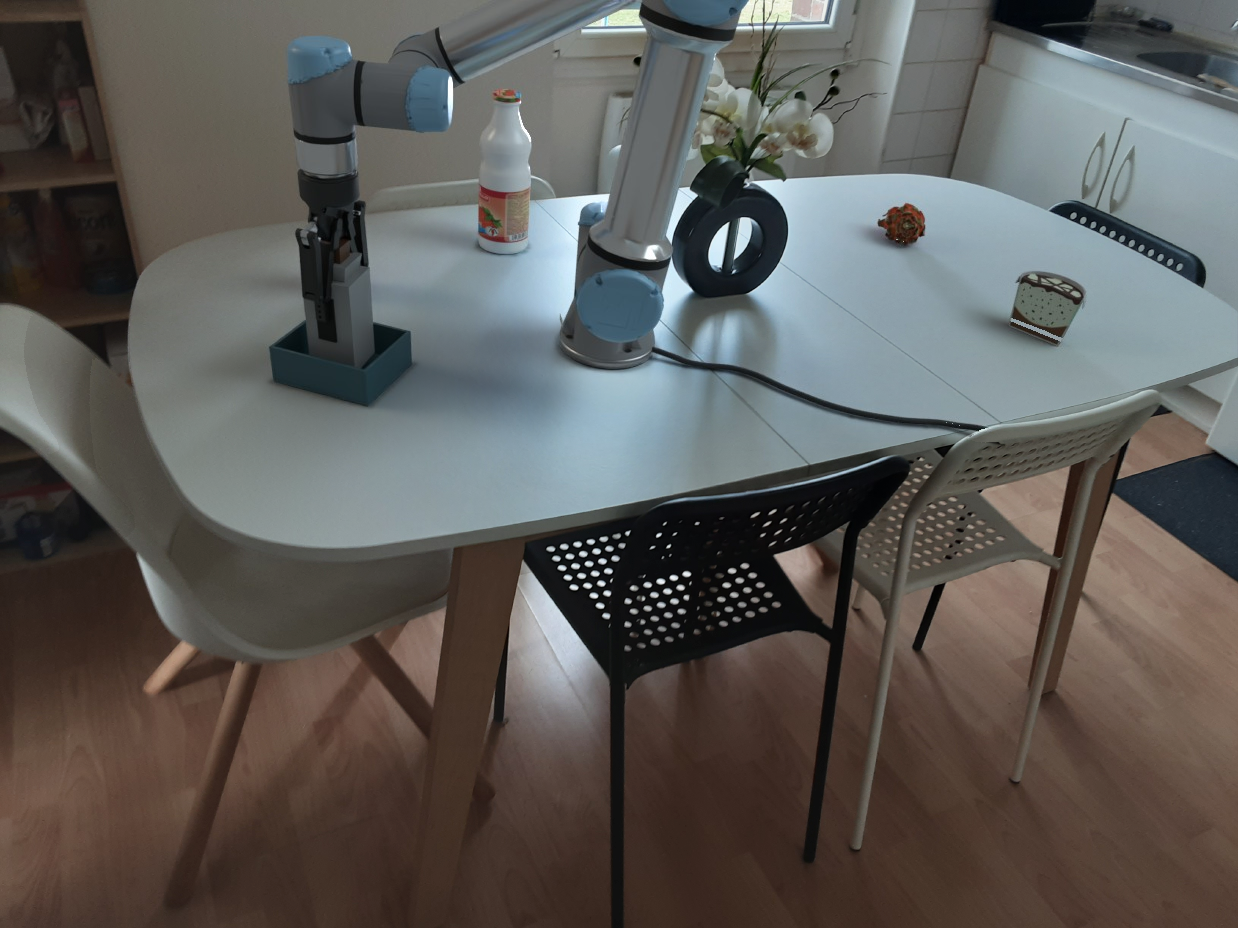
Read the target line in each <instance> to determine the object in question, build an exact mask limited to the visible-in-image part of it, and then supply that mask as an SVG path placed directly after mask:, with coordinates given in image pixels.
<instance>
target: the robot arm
mask: <svg viewBox="0 0 1238 928" xmlns="http://www.w3.org/2000/svg"><path fill="white" fill-rule="evenodd" d="M749 1H750V0H490V1H488V2H485V3H484V4H482V5H480V6H478V7H475V8H474V9H471V10H469V11H467V12H465V13H463V14H461V15H459V16H457V17H455V18H452V19H451V20H449V21H447V22H444V23H443V24H440V25H439V26H437V27H435V28H432V29H430V30H428V31H426V32H423V33H415V34H411V35H409V36H407V37H406V38H404V39H402V40H401V41H400V42H399V43H398V44H397V46H395V48H394V49H393V52H392V54H391V56H390V58H389V59H388V62H372V61H370V62H369V61H363V60H360V59H353V58H354V57H353V54H352V53H351V46H350V44H348V42H347V41H345V40H343V39H342V38H334V37H332V36H326V35H306V36H300V37H297V38H295V39H293V40H292V41H290V42H289V43H288V45H287V47H286V66H287V68H286V69H287V78H286V83H287V86H288V95H289V103H290V110H291V111H290V112H291V119H292V128H293V136H294V140H293V141H294V147H295V158H296V165H297V168H299V169H298V170H297V173H296V175H297V183H298V193H299V197H300V199H301V200H302V202H304V203H305V204H306V206H307V207H308V215H307V223H308V224H307V225H306V226H305V227H304V228H299V227H298V228H296V229H295V232H294V235H295V239H296V242H297V244H298V253H299V255H298V257H299V268H300V280H301V281H300V282H301V284H300V285H301V296H302V299H303V300H304V299H307V300H311V301H314V304H315V314H316V320H317V327H318V337H319V339H322V340H326V341H330V342H334V343H337V333H336V321H335V310H334V299H331V292H332V287H331V284H332V279H333V266H334V255H335V251H336V250H338V247H339V238H345V239H349V240H350V253H353V252H358V253H362V256H361V260H360V265H359V266H365V267H370V259H369V249H368V239H367V229H366V228H367V227H366V207H367V203H366V201H365V200H360V195H361V194H360V193H361V191H360V178H359V171H358V170H357V168H358V167H359V158H358V145H357V134H356V133H357V132H356V131H357V130H356V126H360V127H367V128H381V129H389V130H399V131H407V132H408V131H409V132H410V131H411V132H416V133H419V134H424V133H444V132H447V131H448V130H449V128H450V127H451V125H452V117H453V109H454V108H453V107H454V89H455V88H457V87H459V86H461V85H463V84H465V83H467V82H469V81H471V80H473V79H475V78H477V77H479V76H482V75H484V74H486V73H488V72H491V71H493V70H494V69H495V70H496V69H497V68H498V67H502V66H503V65H506V64H507V63H510V62H511V61H514V60H516V59H519V58H520V57H522V56H525V55H528V54H529V53H531V52H533V51H535V50H538V49H540V48H542V47H544V46H547V45H548V44H551V43H553V42H556V41H557V40H559V39H562V38H563V37H566V36H568V35H570V34H572V33H574V32H577V31H579V30H581V29H583V28H586V27H587V26H590V25H592V24H594V23H596V22H598V21H600V20H602V19H605V18H606V17H609V16H611V15H614V14H615V13H617V12H620V11H622V10H624V9H627V8H628V7H630V6H633V5H634V4H637V3H639V4H640V7H639V11H638V18H639V20H640V22H641V24H642V25H643V27H644V29H645V31H646V38H645V42H644V46H643V51H642V54H641V59H640V64H639V68H638V72H637V75H636V81H635V84H634V87H633V88H634V89H633V93H632V97H631V102H630V105H629V109H628V114H627V119H626V123H625V126H624V132H623V136H622V140H621V144H620V148H619V153H618V157H617V161H616V165H615V169H614V174H613V178H612V182H611V187H610V192H609V195H608V200H604V201H594V202H590V203H588V204H585V205H584V206H583V207H582V208H581V210H580V214H579V221H578V222H577V226H578V234H577V247H576V263H575V273H574V274H575V276H574V290H573V299H572V301H571V304H570V305H569V307H568V310H567V312H566V315H565V317H564V319H563V318H562V314H561V313H559V322H560V325H561V326H560V330H559V338H558V339H559V340H558V345H559V347H560V349H561V350H562V352H563V353H564V355H566V356H567V357H569V358H571V359H572V360H574V361H576V362H578V363H580V364H583V365H586V366H589V367H593V368H598V369H607V370H609V369H610V370H618V369H620V370H621V369H628V368H633V367H636V366H637V367H638V366H640V365H642V364H644V363H646V362H648V361H649V360H650V359H651V358H652V356H653V355H654V354H656V355H659V356H663V357H664V358H668V359H671V360H673V361H675V362H678V363H681V364H683V365H686V366H691V367H693V368H694V367H695V368H701V369H708V370H710V369H711V370H720V371H721V370H722V371H729V372H734V373H735V372H736V373H739V374H743V375H746V376H748V377H751V378H755V379H756V380H759V381H761V382H763V383H765V384H767V385H769V386H772V387H774V388H776V389H778V390H780V391H782V392H784V393H787V394H790V395H792V396H795V397H797V398H800V399H802V400H805V401H807V402H810V403H812V404H815V405H818V406H821V407H824V408H827V409H829V410H833V411H836V412H841V413H843V414H844V413H845V414H849V415H851V416H857V417H861V418H866V419H869V420H870V419H871V420H877V421H883V422H884V421H885V422H890V423H897V424H904V425H919V426H920V425H922V426H924V425H925V426H937V427H944V428H951V429H958V430H966V431H973V432H974V431H975V432H979V430H981V429H985V428H989V427H987V426H984V425H981V424H975V423H965V422H957V421H953V420H947V419H939V418H937V419H936V418H924V417H923V418H922V417H906V416H897V415H891V414H885V413H884V414H883V413H878V412H872V411H867V410H862V409H857V408H853V407H849V406H845V405H841V404H838V403H835V402H832V401H828V400H825V399H822V398H819V397H816V396H814V395H811V394H809V393H806V392H804V391H801V390H798V389H796V388H793V387H791V386H788V385H786V384H784V383H781V382H780V381H777V380H775V379H773V378H771V377H769V376H767V375H764V374H762V373H760V372H758V371H756V370H753V369H750V368H746V367H743V366H739V365H734V364H729V363H720V362H719V363H718V362H706V361H700V360H694V359H691V358H687V357H683V356H681V355H679V354H676V353H674V352H670V351H668V350H665V349H663V348H659V347H656V345H655V344H656V336H655V330H654V329H655V327H657V325H658V324H659V323H660V320H661V318H662V315H663V311H664V308H665V307H664V305H665V304H664V302H665V298H664V294H663V290H664V287H665V282H666V279H667V274H668V271H669V267H670V264H671V260H672V257H673V253H674V246H673V245H672V243H671V240H669V238H668V237H667V233H668V229H669V226H670V222H671V218H672V214H673V212H674V208H675V204H676V200H677V198H678V197H677V196H678V193H679V190H680V186H681V182H682V178H683V174H684V171H685V168H686V165H687V160H688V157H689V152H690V150H691V146H692V143H693V140H694V139H693V138H694V135H695V131H696V128H697V125H698V121H699V117H700V113H701V110H702V106H703V103H704V99H705V95H706V92H707V88H708V84H709V80H710V77H711V73H712V70H713V66H714V63H715V59H716V56H717V54H718V52H719V51H720V50H722V49H724V48H725V47H727V46H728V45H730V44H732V43H733V42H734V38H735V35H736V32H737V28H738V24H739V22H740V17H741V14H742V10H743V9H744V8H745V7H746V6H747V4H748V3H749ZM320 240H323V241H327V242H331V243H326V242H322V241H320ZM946 422H947V423H946ZM952 423H953V424H952ZM959 425H960V426H959Z"/></svg>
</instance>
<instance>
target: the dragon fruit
mask: <svg viewBox="0 0 1238 928" xmlns="http://www.w3.org/2000/svg"><path fill="white" fill-rule="evenodd" d="M881 217H884V218H882V219H881V218H878V219H877V227H879V228H883V229H884V230H886V232H885V233H884V236H885V238H887V240H889V241H895V243H896V244H899V245H901V246H907V245H908V244H909V245H910V244H911V245H913V244H915V243H917V242H918V240H919V238H922V237H925V236H926V224H925V222H926V218H925V215H924V213H923V211H922V210H919V208H918V207H916V206H915V205H914V204H912V203H909V202H905V203H904V204H903V205H902V206H893V207H890V208H889V209H888V210H887V212H885V213H883V215H882V216H881ZM896 239H898V240H896ZM903 241H904V242H903Z"/></svg>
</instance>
